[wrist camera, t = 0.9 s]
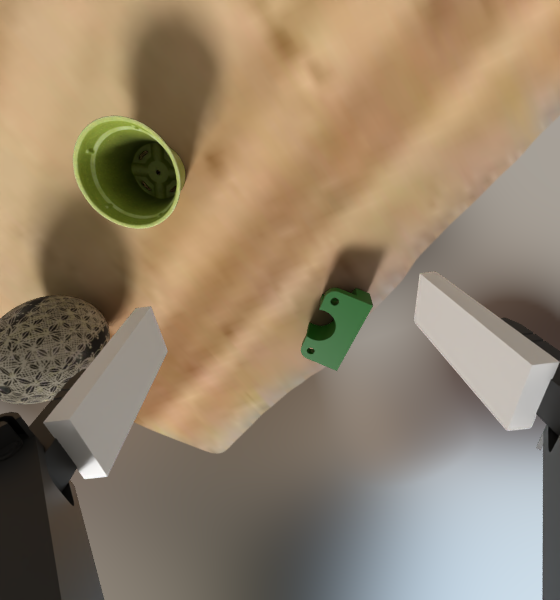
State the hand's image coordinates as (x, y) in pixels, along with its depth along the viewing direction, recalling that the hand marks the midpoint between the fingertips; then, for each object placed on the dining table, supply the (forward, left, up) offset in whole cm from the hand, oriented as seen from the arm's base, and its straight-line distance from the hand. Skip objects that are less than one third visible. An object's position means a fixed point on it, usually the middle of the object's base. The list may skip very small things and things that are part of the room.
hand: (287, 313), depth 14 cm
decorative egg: (+2, -31, -25) cm, 40 cm away
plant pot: (-10, -10, -25) cm, 29 cm away
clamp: (+17, +2, -26) cm, 31 cm away
